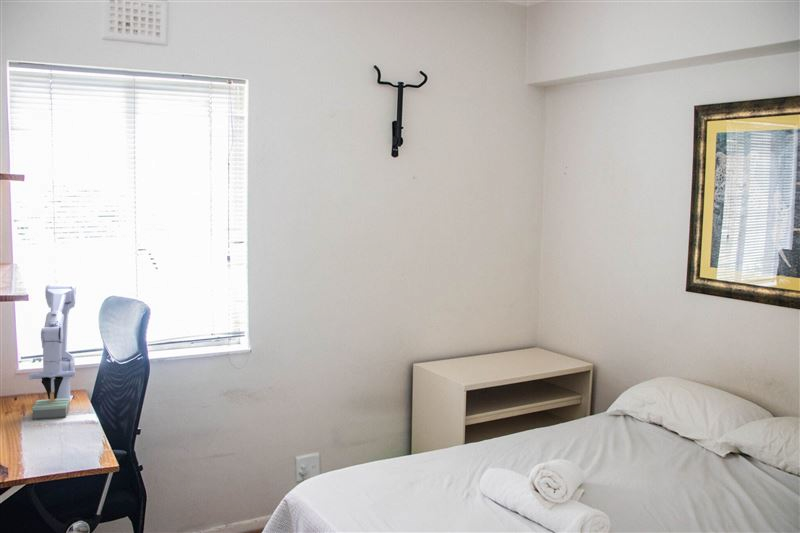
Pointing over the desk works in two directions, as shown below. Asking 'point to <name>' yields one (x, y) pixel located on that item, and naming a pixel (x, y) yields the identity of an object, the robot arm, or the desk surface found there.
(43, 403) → the lid
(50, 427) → the desk surface
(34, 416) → the tub
